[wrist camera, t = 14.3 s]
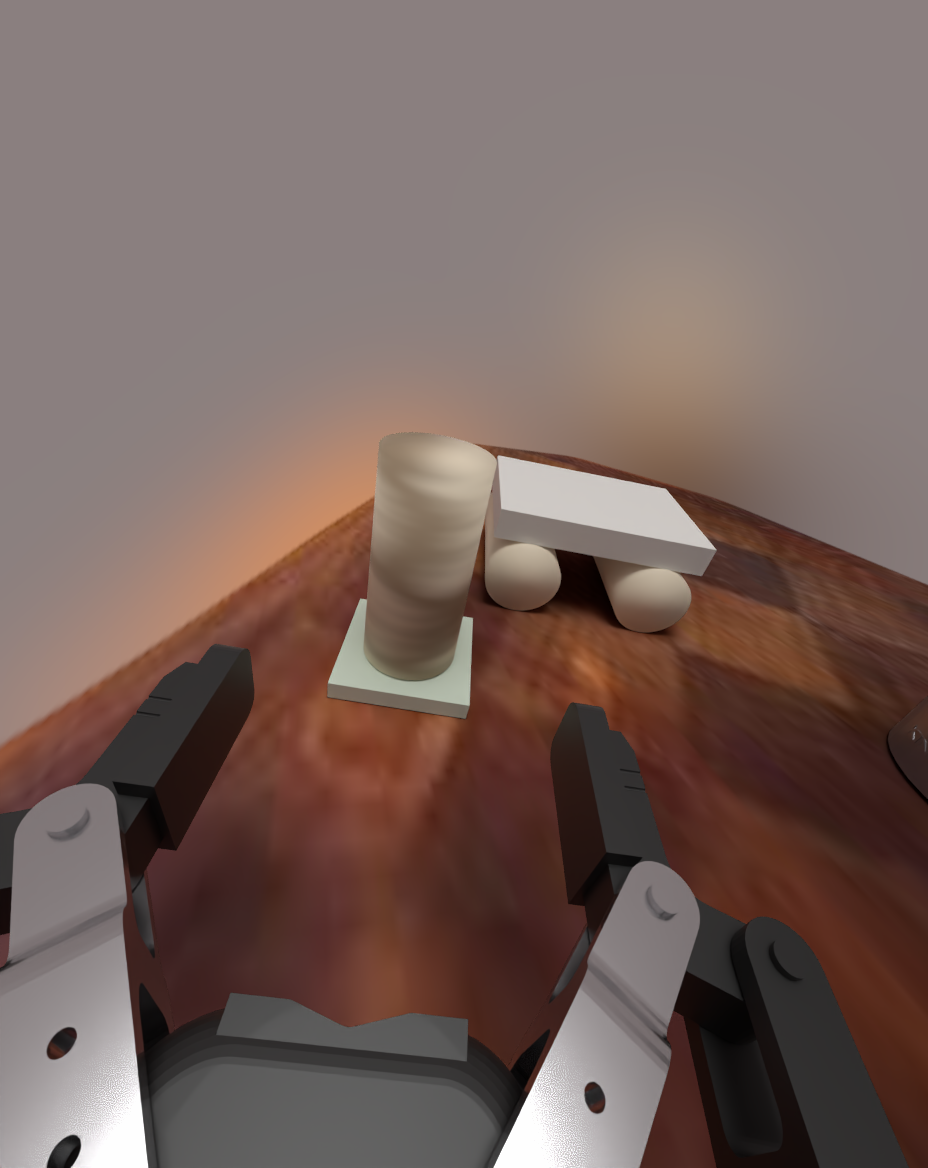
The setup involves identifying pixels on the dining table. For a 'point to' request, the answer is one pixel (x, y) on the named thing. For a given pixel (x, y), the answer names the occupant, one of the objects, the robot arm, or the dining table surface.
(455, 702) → the green mark
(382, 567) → the roller
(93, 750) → the dining table surface
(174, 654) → the dining table surface
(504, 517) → the slab rig
